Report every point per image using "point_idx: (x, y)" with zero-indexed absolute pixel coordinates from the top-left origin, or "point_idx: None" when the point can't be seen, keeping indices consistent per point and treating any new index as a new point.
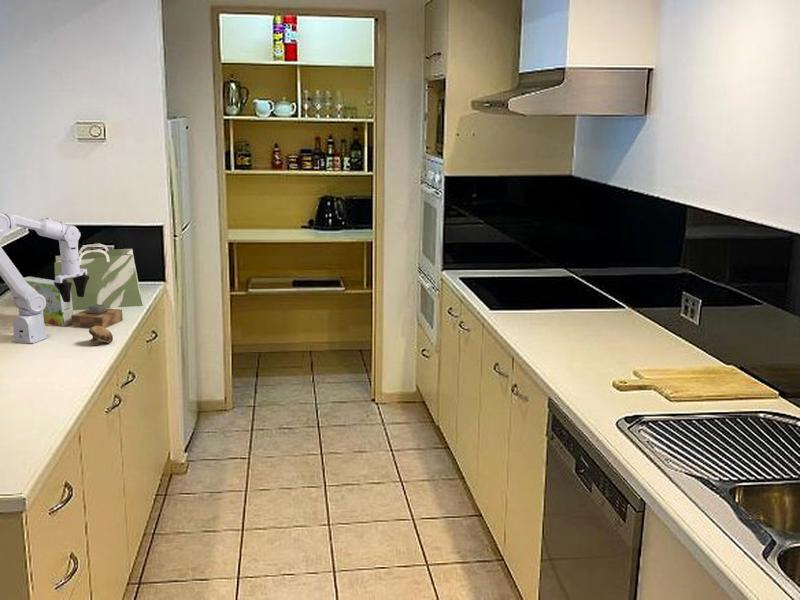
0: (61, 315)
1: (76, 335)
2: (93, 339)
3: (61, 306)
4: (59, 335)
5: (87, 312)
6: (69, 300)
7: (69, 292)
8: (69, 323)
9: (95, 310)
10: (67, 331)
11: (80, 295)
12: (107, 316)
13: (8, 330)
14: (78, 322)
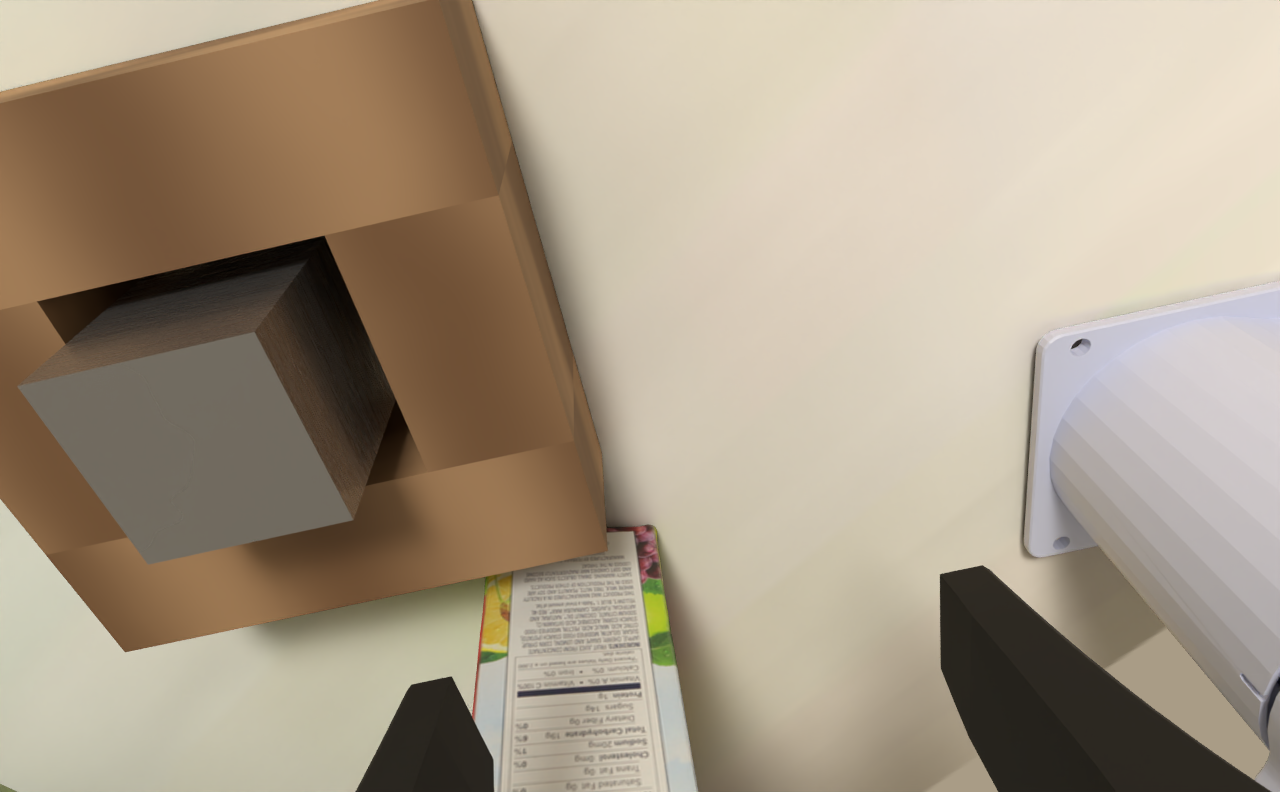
0: (670, 636)
1: (910, 80)
2: None
3: (685, 738)
4: (974, 285)
5: None
6: (990, 588)
7: (1146, 760)
8: None
9: (306, 365)
10: (786, 345)
11: (468, 744)
12: (247, 41)
13: (948, 763)
14: (580, 407)
